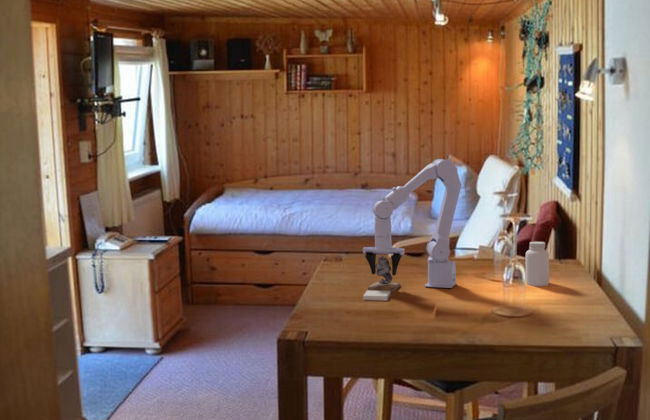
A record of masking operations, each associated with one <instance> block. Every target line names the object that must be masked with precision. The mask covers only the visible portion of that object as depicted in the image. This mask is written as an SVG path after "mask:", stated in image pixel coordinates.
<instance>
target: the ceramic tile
mask: <svg viewBox="0 0 650 420" xmlns="http://www.w3.org/2000/svg"><path fill="white" fill-rule="evenodd" d="M390 296H391V292H390V291H370V290H368V289H367V290H366V291H365V293H364V294H363V296H362V297H363V298H362V299H363V301H385V302H387V301H388V300H389V298H390Z"/></svg>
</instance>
